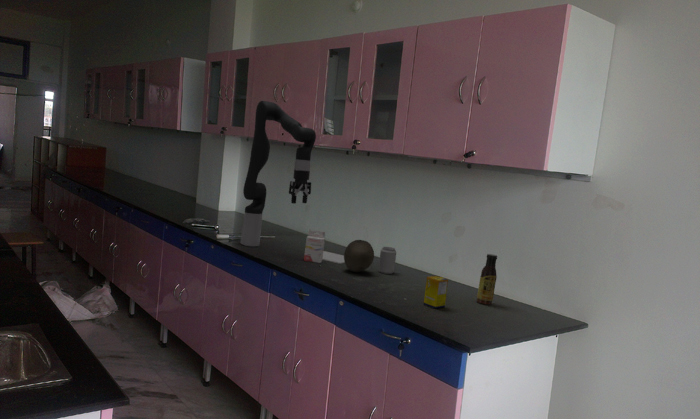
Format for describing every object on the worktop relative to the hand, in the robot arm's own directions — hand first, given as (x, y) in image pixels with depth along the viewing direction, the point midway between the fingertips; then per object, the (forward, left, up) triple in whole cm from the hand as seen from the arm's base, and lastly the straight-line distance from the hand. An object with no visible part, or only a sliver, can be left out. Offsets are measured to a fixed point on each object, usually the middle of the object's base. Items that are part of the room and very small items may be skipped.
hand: (299, 203), depth 259 cm
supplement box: (+82, -18, -28) cm, 88 cm away
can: (+42, +17, -28) cm, 53 cm away
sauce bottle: (+94, +5, -28) cm, 98 cm away
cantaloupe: (+34, +4, -28) cm, 44 cm away
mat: (+8, +21, -27) cm, 36 cm away
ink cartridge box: (+8, +5, -28) cm, 29 cm away
